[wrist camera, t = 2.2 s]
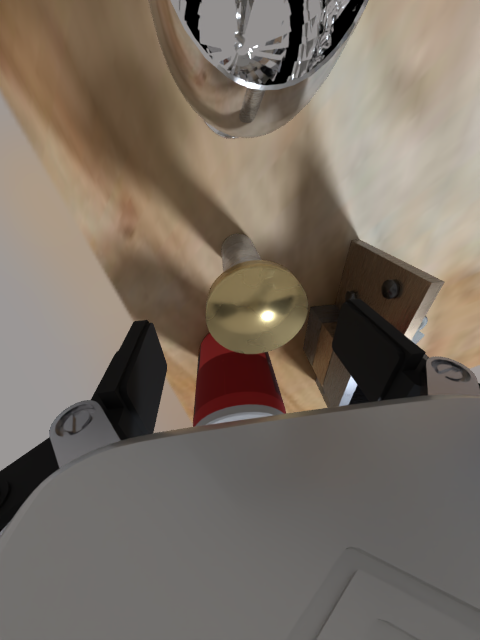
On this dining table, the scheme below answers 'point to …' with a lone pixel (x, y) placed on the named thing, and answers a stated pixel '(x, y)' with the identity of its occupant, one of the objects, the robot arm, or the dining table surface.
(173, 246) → the dining table surface
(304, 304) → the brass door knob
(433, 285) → the hinge leaf
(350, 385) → the hinge leaf
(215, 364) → the canned food
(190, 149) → the dining table surface
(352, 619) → the robot arm
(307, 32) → the wineglass
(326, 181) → the dining table surface
